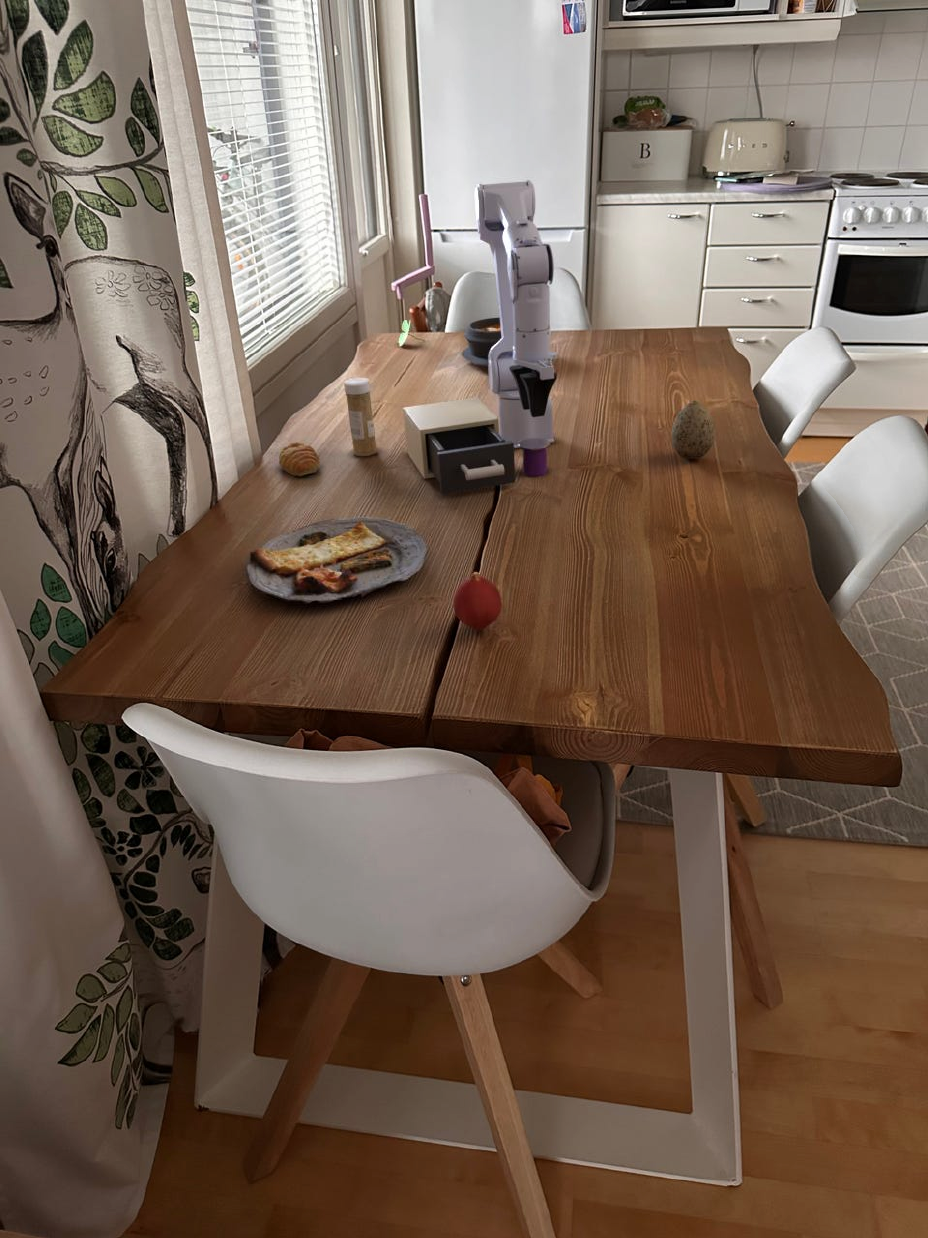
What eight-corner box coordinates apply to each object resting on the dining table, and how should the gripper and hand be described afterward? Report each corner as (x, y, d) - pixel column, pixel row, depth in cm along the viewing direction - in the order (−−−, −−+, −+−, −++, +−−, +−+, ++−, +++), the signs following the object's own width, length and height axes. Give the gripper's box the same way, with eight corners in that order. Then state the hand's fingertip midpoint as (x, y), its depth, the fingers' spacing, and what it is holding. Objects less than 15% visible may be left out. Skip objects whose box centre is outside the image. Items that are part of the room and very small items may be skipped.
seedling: (416, 361, 243) (394, 351, 240) (419, 337, 247) (398, 326, 243) (429, 347, 238) (407, 337, 235) (433, 323, 241) (411, 312, 238)
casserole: (539, 372, 211) (539, 334, 206) (458, 375, 212) (456, 338, 208) (538, 344, 232) (538, 310, 228) (465, 348, 234) (463, 314, 230)
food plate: (277, 630, 116) (272, 605, 114) (228, 561, 134) (224, 539, 132) (454, 578, 125) (452, 554, 124) (386, 520, 143) (384, 499, 142)
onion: (453, 620, 116) (449, 562, 112) (499, 615, 116) (497, 558, 112) (457, 644, 110) (453, 585, 106) (505, 639, 111) (502, 580, 107)
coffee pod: (544, 464, 160) (543, 436, 158) (554, 474, 156) (554, 445, 153) (515, 469, 159) (514, 440, 157) (525, 479, 155) (524, 450, 152)
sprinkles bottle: (381, 453, 170) (374, 380, 164) (360, 459, 168) (351, 385, 161) (370, 446, 174) (361, 375, 167) (348, 452, 172) (339, 380, 165)
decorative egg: (661, 460, 158) (664, 403, 153) (684, 448, 163) (687, 392, 158) (698, 468, 154) (703, 410, 149) (720, 456, 158) (725, 398, 154)
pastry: (328, 473, 163) (325, 452, 161) (291, 481, 160) (287, 461, 159) (312, 457, 170) (309, 437, 168) (276, 465, 168) (273, 445, 166)
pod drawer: (524, 493, 147) (523, 452, 144) (449, 505, 145) (446, 464, 141) (493, 458, 162) (491, 420, 158) (424, 468, 159) (420, 430, 156)
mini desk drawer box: (500, 466, 160) (498, 418, 156) (424, 478, 158) (420, 430, 153) (478, 442, 172) (476, 397, 168) (407, 453, 169) (403, 407, 165)
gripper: (572, 334, 140) (572, 421, 147) (540, 315, 152) (541, 397, 159) (528, 340, 139) (530, 427, 146) (499, 320, 151) (502, 402, 158)
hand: (533, 412), depth 152 cm, fingers open, 4 cm apart
